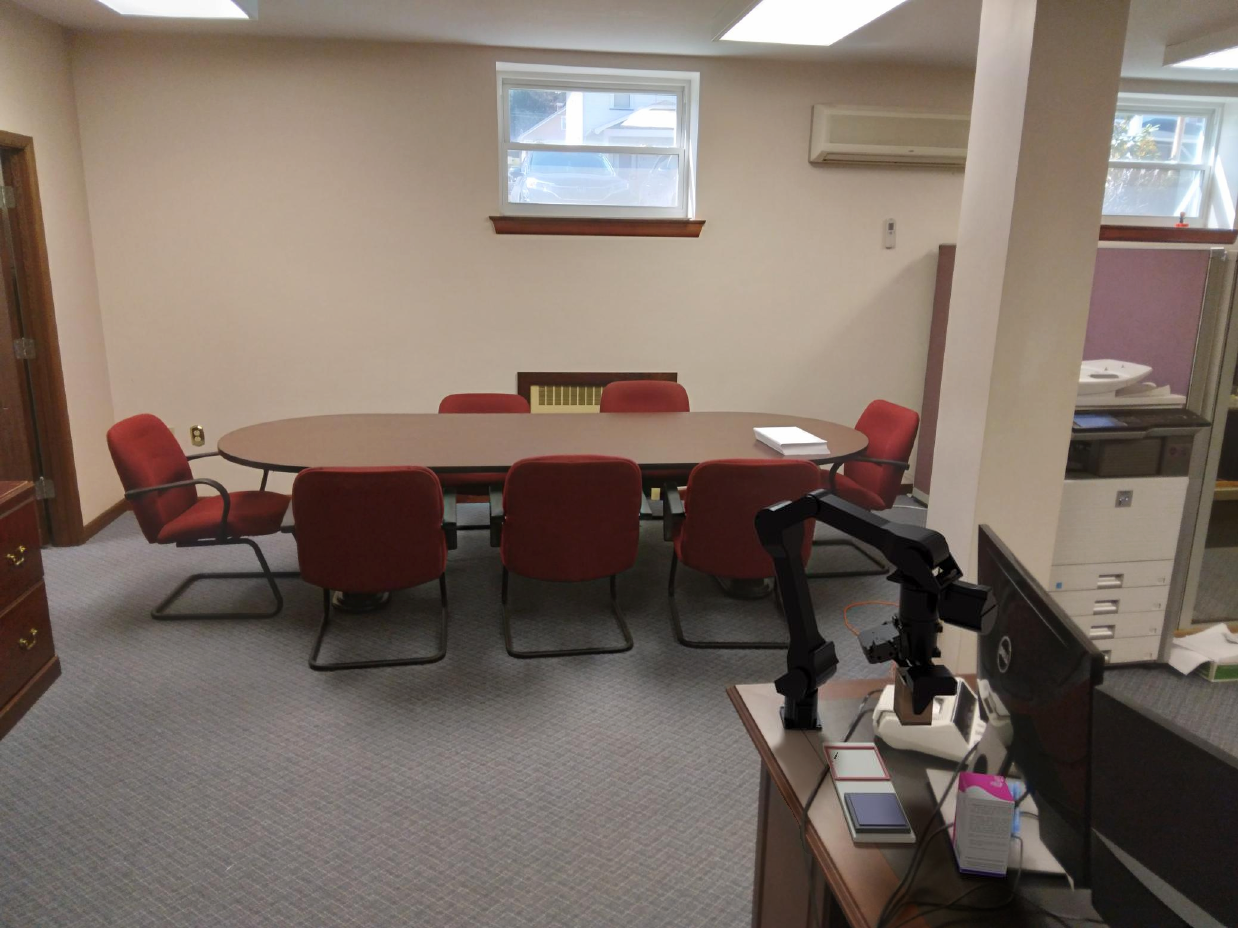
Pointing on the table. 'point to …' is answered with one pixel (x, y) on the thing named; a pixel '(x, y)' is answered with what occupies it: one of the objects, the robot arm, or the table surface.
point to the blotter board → (867, 794)
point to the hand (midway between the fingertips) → (912, 705)
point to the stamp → (908, 703)
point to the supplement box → (982, 824)
